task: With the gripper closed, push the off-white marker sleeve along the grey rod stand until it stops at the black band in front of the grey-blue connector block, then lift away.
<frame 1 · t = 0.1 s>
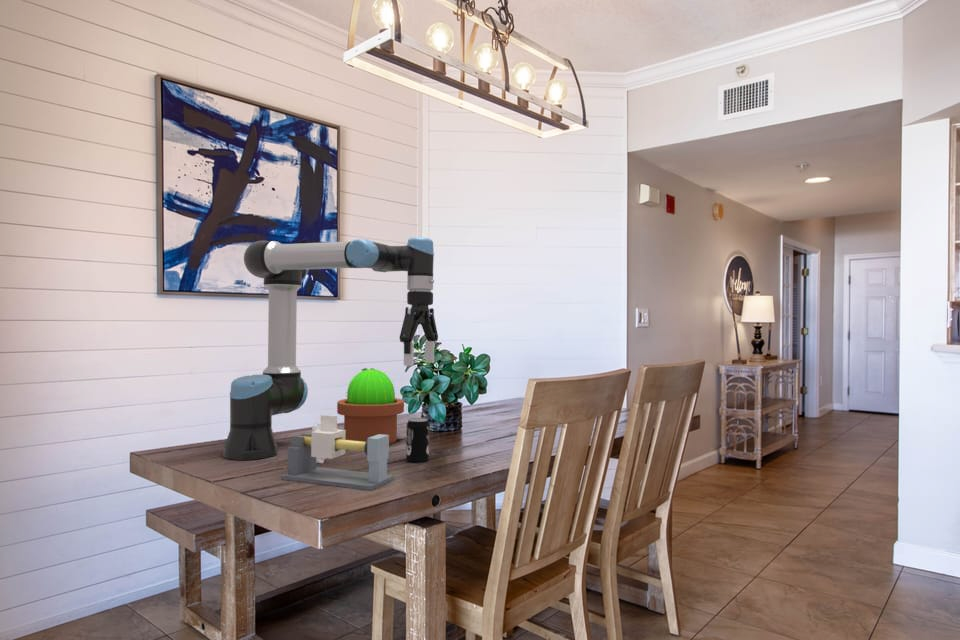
hand: (419, 364, 177), 28 cm above the table, fingers open, 13 cm apart
beverage can: (417, 461, 177), on the table
potted cactus: (370, 442, 204), on the table
figurine: (322, 461, 175), on the table
grey rod stand: (338, 479, 155), on the table
sleeve: (328, 435, 156), point 11 cm above the table, slide at 0.0 cm
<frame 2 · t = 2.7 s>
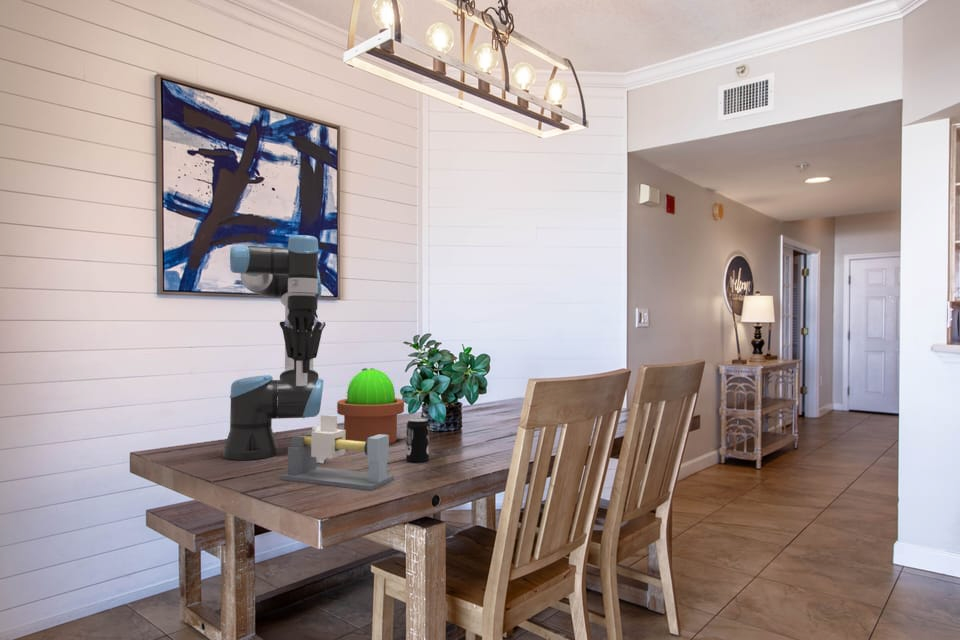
hand: (301, 385, 159), 23 cm above the table, fingers closed
nothing on the table moved.
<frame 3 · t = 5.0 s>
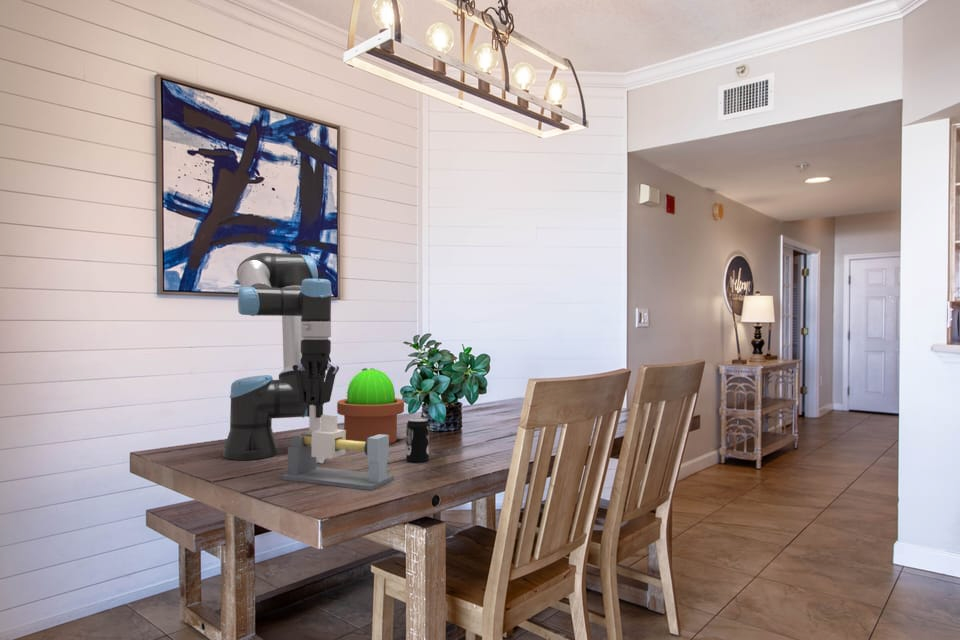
hand: (314, 429, 157), 12 cm above the table, fingers closed
sleeve: (328, 435, 156), point 11 cm above the table, slide at 0.1 cm, touching gripper
everything else where it was.
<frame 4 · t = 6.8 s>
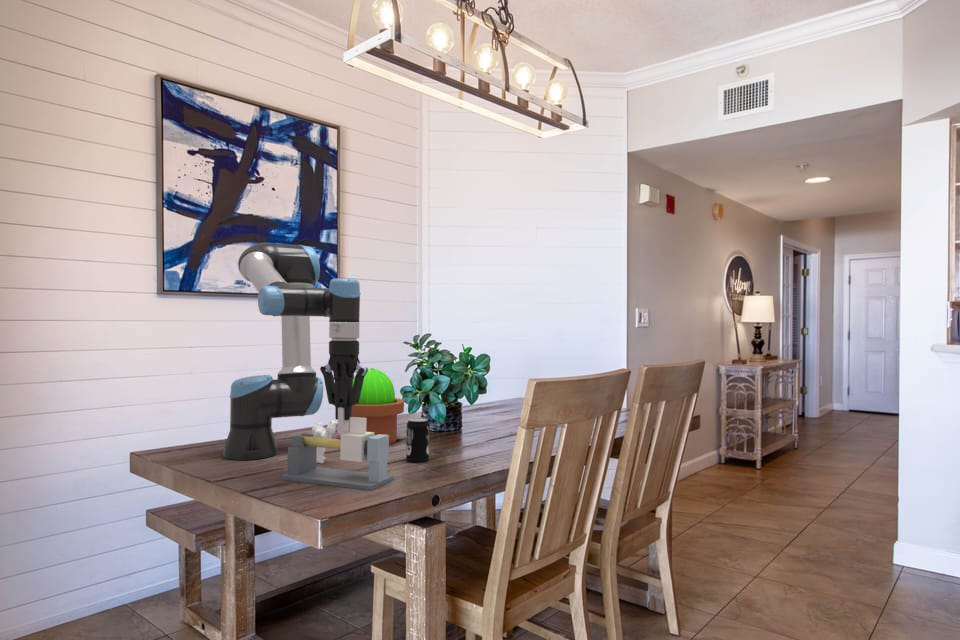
hand: (343, 432, 154), 12 cm above the table, fingers closed
sleeve: (357, 437, 153), point 11 cm above the table, slide at 8.6 cm, touching gripper
everything else where it was.
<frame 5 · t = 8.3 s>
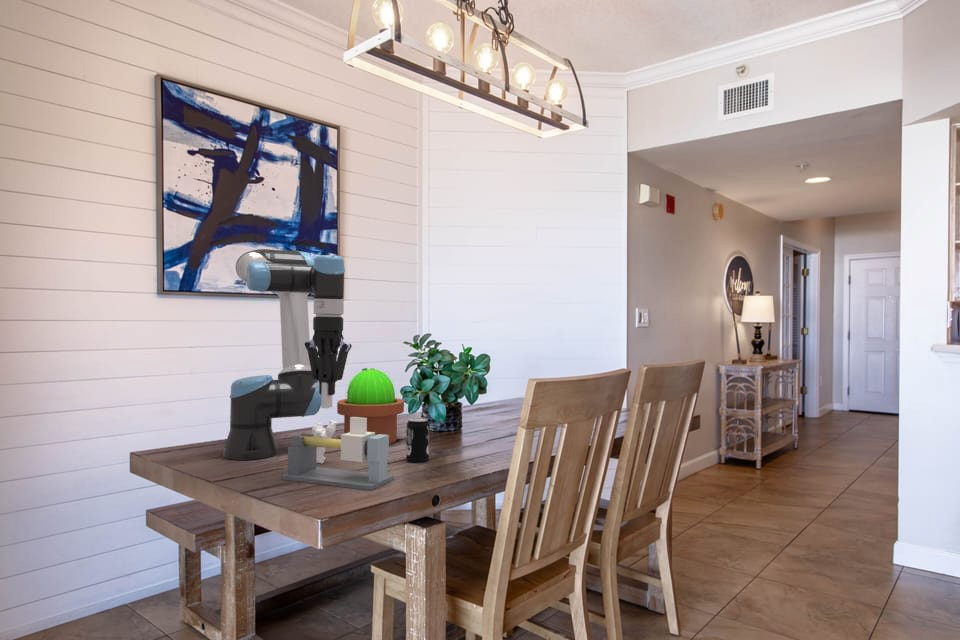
hand: (326, 407, 157), 18 cm above the table, fingers closed
sleeve: (358, 437, 153), point 11 cm above the table, slide at 8.7 cm
everything else where it was.
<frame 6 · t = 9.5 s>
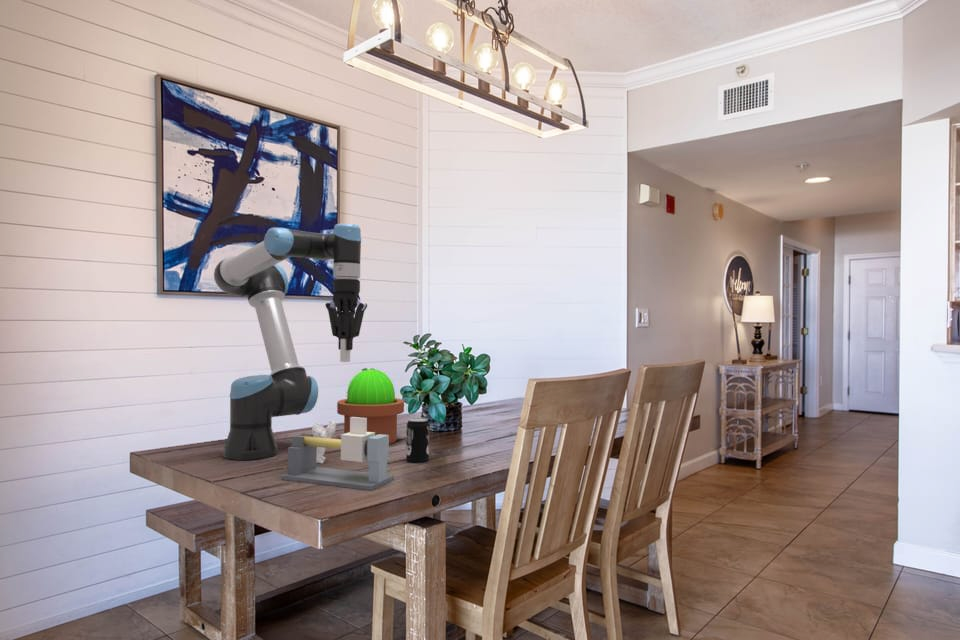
hand: (345, 361, 173), 29 cm above the table, fingers closed
nothing on the table moved.
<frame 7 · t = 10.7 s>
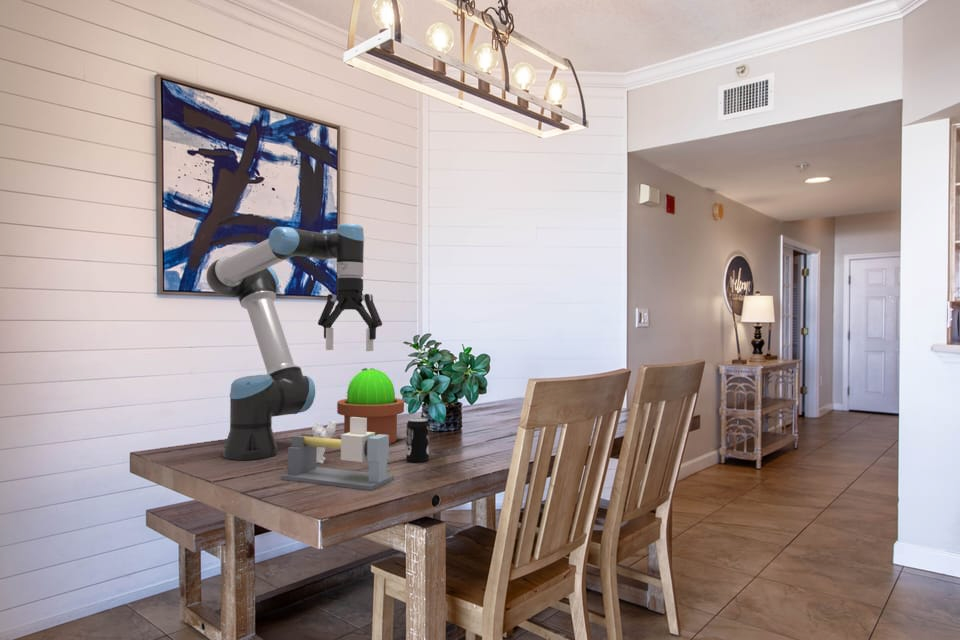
hand: (349, 350, 177), 32 cm above the table, fingers open, 13 cm apart
nothing on the table moved.
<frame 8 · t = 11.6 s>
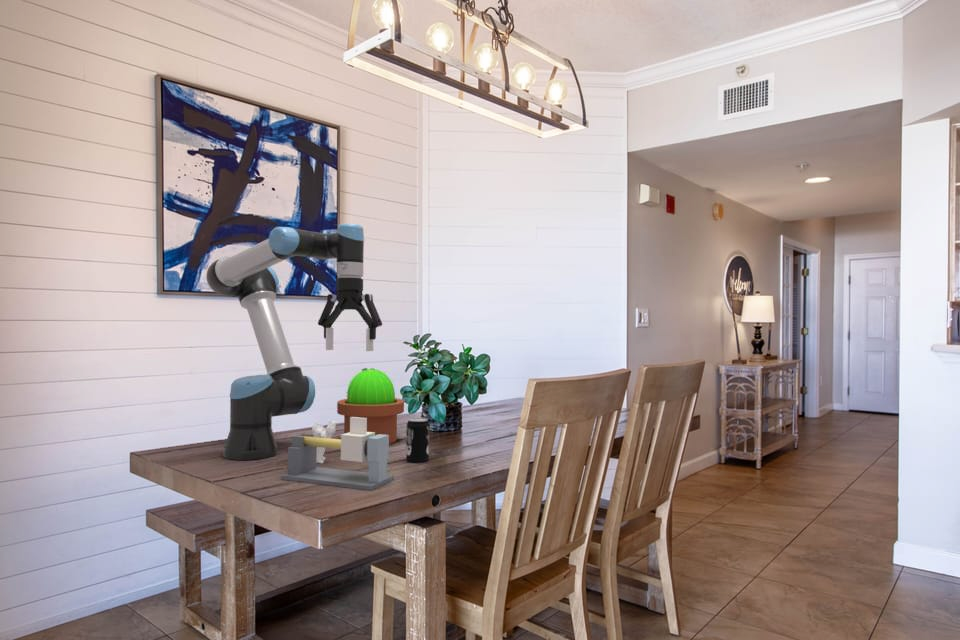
hand: (349, 350, 177), 32 cm above the table, fingers open, 13 cm apart
nothing on the table moved.
at the end: sleeve slide at 8.7 cm; sleeve touching nothing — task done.
